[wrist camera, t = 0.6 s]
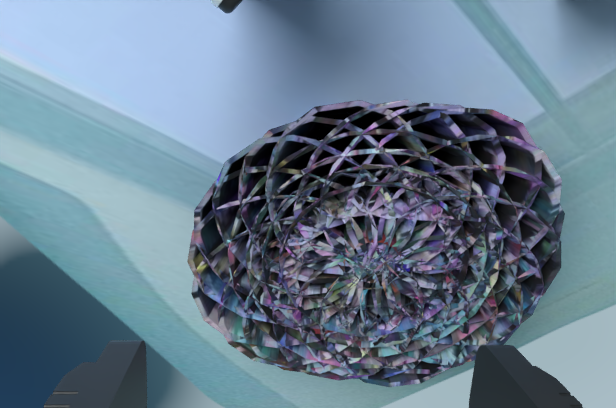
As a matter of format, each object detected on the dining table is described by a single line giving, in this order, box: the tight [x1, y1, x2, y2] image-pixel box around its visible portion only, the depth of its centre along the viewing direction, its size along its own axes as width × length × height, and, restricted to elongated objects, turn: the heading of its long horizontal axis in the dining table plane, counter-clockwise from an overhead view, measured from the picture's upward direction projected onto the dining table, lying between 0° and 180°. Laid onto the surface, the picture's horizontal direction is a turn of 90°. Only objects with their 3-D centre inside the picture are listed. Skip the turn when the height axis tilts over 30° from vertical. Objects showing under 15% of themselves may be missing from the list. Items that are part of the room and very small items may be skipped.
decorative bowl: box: [188, 100, 565, 387], centre depth 40 cm, size 26×28×10 cm
